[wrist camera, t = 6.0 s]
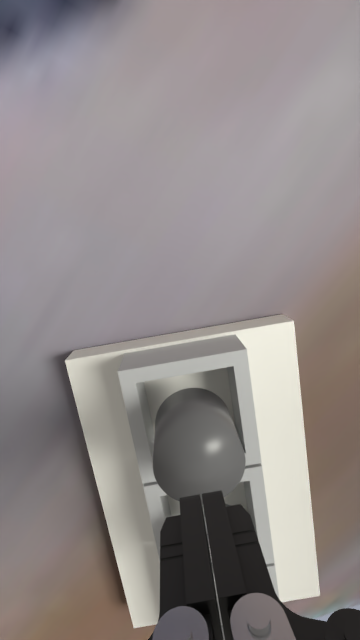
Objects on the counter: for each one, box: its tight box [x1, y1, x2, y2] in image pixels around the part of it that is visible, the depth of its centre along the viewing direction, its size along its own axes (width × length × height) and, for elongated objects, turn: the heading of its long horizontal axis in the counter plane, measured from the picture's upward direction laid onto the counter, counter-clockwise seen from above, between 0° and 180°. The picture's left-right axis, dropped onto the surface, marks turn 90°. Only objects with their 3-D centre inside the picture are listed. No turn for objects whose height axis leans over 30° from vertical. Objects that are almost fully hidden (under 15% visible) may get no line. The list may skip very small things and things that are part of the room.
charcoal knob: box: [153, 388, 246, 504], centre depth 16 cm, size 4×4×4 cm
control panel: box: [65, 314, 320, 628], centre depth 22 cm, size 14×21×5 cm, turn 10°
